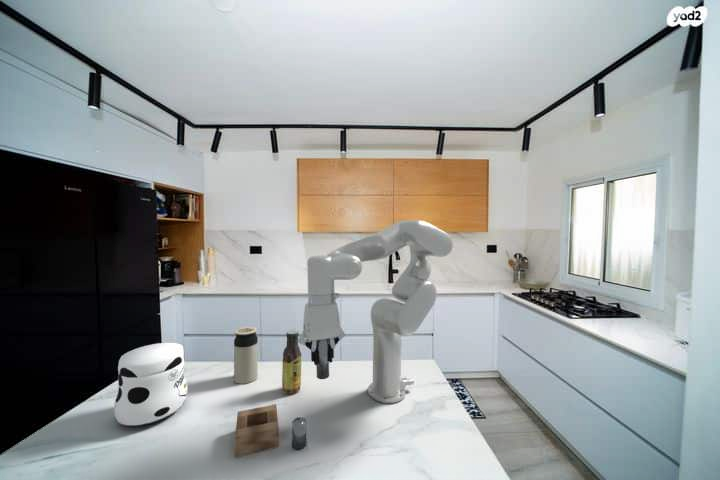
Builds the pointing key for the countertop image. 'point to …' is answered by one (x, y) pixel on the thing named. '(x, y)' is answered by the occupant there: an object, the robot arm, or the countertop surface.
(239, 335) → the travel mug
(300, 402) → the countertop surface
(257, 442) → the hole block
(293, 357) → the sauce bottle
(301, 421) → the short pin
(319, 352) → the long pin
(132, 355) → the milk container
